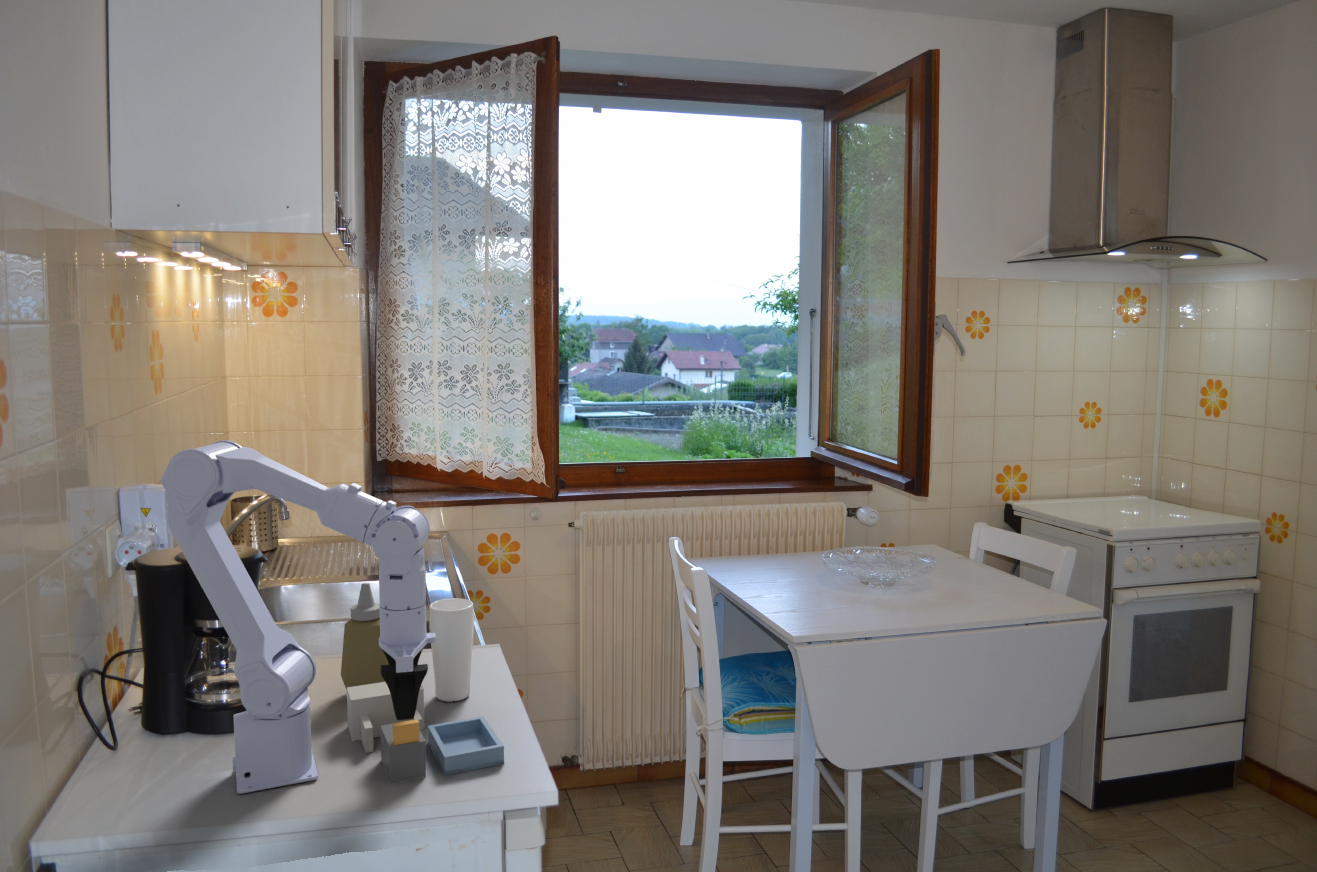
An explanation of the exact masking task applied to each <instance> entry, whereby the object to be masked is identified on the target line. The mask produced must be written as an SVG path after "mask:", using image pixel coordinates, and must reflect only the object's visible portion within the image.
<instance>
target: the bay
mask: <svg viewBox="0 0 1317 872" xmlns="http://www.w3.org/2000/svg"><path fill="white" fill-rule="evenodd" d="M424 690H425V689H424V688H423V686H422V684H421V687H420V690H419V695H418V701H417V707H416V712H415V716H414V718H413V719H406V720H397V719H396V716H395V712H394V708H393V703H392V698H391V694H390V691H389V688H388V686H387V684H386V682H380V683H374V684H367V685H360V686H354V687H347V690H346V714H347V718H346V719H347V728H348V733H349V734H350V739H351V740H352V742H356V741H361V743H362V746H363V750H364V752H365V754H367V753H368V754H369V753H373V752H374V738H381V726H382V725H388V724H393V723H398V722H404V721H410V720H416V719H418V721H419V729H420V731H421V733H422V735H423V730H424V729H425V697H424V696H425V695H424V694H425V693H424V692H425V691H424Z"/></svg>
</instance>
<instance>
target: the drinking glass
mask: <svg viewBox="0 0 1317 872" xmlns="http://www.w3.org/2000/svg"><path fill="white" fill-rule="evenodd" d="M474 613H475V612H474V603H473V601H471V600H469V599H466V598H458V597H456V598H454V597H451V598H449V597H448V598H443V599H438V600H436V601H433V602H431V603H430V604H429V617H428V618H429V622H428V623H429V633H435V634H436V641H435V642H433V643H430V647H431V656H432V666H433V675H434V688H435V689H434V692H435V694H434V695H435V696H436V698H437V699H438V700H440V701H442V702H445V703H446V702H448V703H449V702H450V703H452V702H453V701H455V702H460V701H462V700H463V701H464V699H466V698H468V697H469V695H470V693H471V673H472V671H471V668H472V658H473V647H474V632H475V631H474V627H475V616H474ZM453 703H454V702H453Z"/></svg>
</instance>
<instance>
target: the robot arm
mask: <svg viewBox="0 0 1317 872" xmlns="http://www.w3.org/2000/svg"><path fill="white" fill-rule="evenodd" d="M160 483H161V485H162V487H163V488H164V490H165V492H166V494H167V495H166V499H167V523H168V527H169V531H170V533H171V534H172V536H173V537H174V539H175V541H176V544H177V545H178V547H179V548H180V550H181V553H182V554H183V556H184V557H185V560H186V561H187V563H188V564H189V567H190V568H191V570H192V572H193V574H194V576H195V578H196V580H197V581H198V583H199V584H200V587H201V589H202V590H203V592H204V594H205V596H206V597H207V599H208V601H209V603H210V605H211V606H212V608H213V610H214V611H215V614H216V616H217V617H218V619H219V621H220V623H221V624H222V626H223V628H224V630H225V632H226V633H227V635H228V637H229V639H230V641H231V642H232V645H233V646H234V648H235V650H236V654H235V660H234V668H233V674H234V676H235V678H236V679H237V681H238V685H239V698H240V701H241V704H242V705H243V707H244V708H245V711H241V712H238V713H235V714H233V735H234V736H233V737H234V738H233V740H234V757H232V759H231V761H232V773H235V777H236V779H235V780H236V792H237V794H246V793H251V792H258V791H262V790H267V789H272V788H277V787H278V788H279V787H283V786H289V785H294V784H300V783H304V782H310V781H316V780H318V778H319V774H318V769H317V765H316V762H315V761H316V759H315V757H314V753H313V751H312V726H311V725H312V724H311V723H312V722H311V698H310V696H309V694H308V693H309V687H310V686H311V684H312V683H313V682H314V680H315V677H316V675H317V665H316V664H317V663H316V661H315V659H314V657H313V656H312V655H311V653H310V652H309V651H308V650H306V649H305V648H303V647H302V646H301V645H299V643H298V642H297V641H296V639H295V637H294V635H293V634H292V633H290V632H288V631H286V630H284V629H281V628H280V627H279V626H278V625H277V624H276V622H275V620H274V618H273V617H272V614H271V612H270V610H269V609H268V608H267V605H266V604H265V602H264V600H263V598H262V596H261V595H260V593H259V591H258V589H257V587H256V585H255V583H254V582H253V580H252V578H251V576H250V575H249V573H248V571H247V569H246V567H245V565H244V563H243V561H242V559H241V558H240V556H239V554H238V552H237V550H236V549H235V546H233V544H232V541H231V540H230V538H229V536H228V534H227V532H226V530H225V529H224V527H223V525H222V523H221V518H222V516H223V514H224V512H225V509H226V507H227V504H228V503H229V501H230V498H231V497H232V496H233V494H235V493H237V492H238V493H239V492H244V491H251V490H257V491H260V492H262V493H265V494H268V495H271V496H273V497H276V498H279V499H282V500H284V501H286V502H290V503H293V504H295V505H298V506H300V507H302V508H305V509H308V510H311V511H313V512H315V513H316V514H317V517H318V519H319V521H320V523H321V525H323V527H326V528H329V529H330V530H333V531H335V532H338V533H340V534H342V535H345V536H347V537H349V538H351V539H354V540H357V541H358V542H361V543H363V544H366V545H368V546H371V547H372V550H373V551H374V553H375V554H376V555H377V556H378V562H379V563H378V564H379V565H378V566H379V570H378V588H379V590H378V591H379V596H378V597H379V598H378V599H379V604H380V605H379V606H380V638H379V647H380V648H381V649H382V650H383V652H384V654H385V656H386V658H387V660H388V663H389V665H381V675H382V677H383V679H384V680H385V682H386V684H387V686H388V688H389V691H390V694H391V698H392V703H393V708H394V712H395V716H396V719H397V720H406V719H413V718H414V716H415V712H416V707H417V701H418V695H419V690H420V687H421V685H422V684H423V681H424V679H425V677H426V675H427V673H428V671H429V664H428V663H423V664H419V660H420V657H421V656H422V653H423V649H424V648H425V646H427V644H431V643H433V642H435V641H436V634H435V633H430V632H427V587H426V586H427V585H426V584H427V582H426V581H427V580H426V576H427V574H426V563H425V561H426V560H425V559H426V558H425V547H423V546H424V545H425V544H426V542H427V540H428V539H429V536H430V530H431V529H430V523H429V520H428V518H427V517H426V515H425V514H424V513H423V512H422V511H420V510H419V509H417V508H415V507H414V506H412V505H402V506H398V507H397V502H395V501H393V500H390V499H389V500H388V501H385V500H382V499H380V498H377V497H375V496H372V495H371V494H368V493H366V492H363V491H362V489H363V486H362V485H360V484H357V483H356V482H352V483H351V484H349V485H347V484H345V483H340V484H337V485H335V486H332V487H329V486H326V485H325V484H322V483H320V482H318V481H316V480H313V478H310V477H308V476H307V475H303V474H302V473H300V472H298V471H296V470H294V469H292V468H290V467H288V466H286V465H283V464H282V463H279V462H277V461H275V460H274V459H271V458H269V457H267V456H265V455H263V454H262V453H261V452H259V451H257V450H256V449H255V448H252V447H249V446H242V445H240V444H239V443H237V442H235V441H233V440H227V439H225V440H218V441H215V442H212V443H210V444H207V445H203V446H199V447H196V448H187V449H184V450H181V451H179V452H176V454H175V455H173V456H172V458H171V459H170V461H169V462H168V463H167V466H166V469H165V471H164V473H163V475H162V477H161V480H160Z"/></svg>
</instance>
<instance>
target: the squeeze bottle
mask: <svg viewBox="0 0 1317 872" xmlns="http://www.w3.org/2000/svg"><path fill="white" fill-rule="evenodd" d="M379 605H380V603H379V602H375V600H374V597H373V592H372V588H371V585H370V583H369V582H363V583H361V586H360V590H359V596H358V602H357V603H356V604H354V605H352V606H350V619H349V620H347V621H346V622H345V623H344V629H343V631H344V632H343V642H342V655H341V664H340V665H341V666H340V678H341V680H342V682H343V685H344V687H345V690H346V691H347V687H354V686H360V685H367V684H374V683H380V682H385V680H384V679H383V677H382V675H381V665H389V663H388V660H387V658H386V656H385V654H384V652H383V650H382V649H381V648H380V647H379V638H380V606H379Z"/></svg>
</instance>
